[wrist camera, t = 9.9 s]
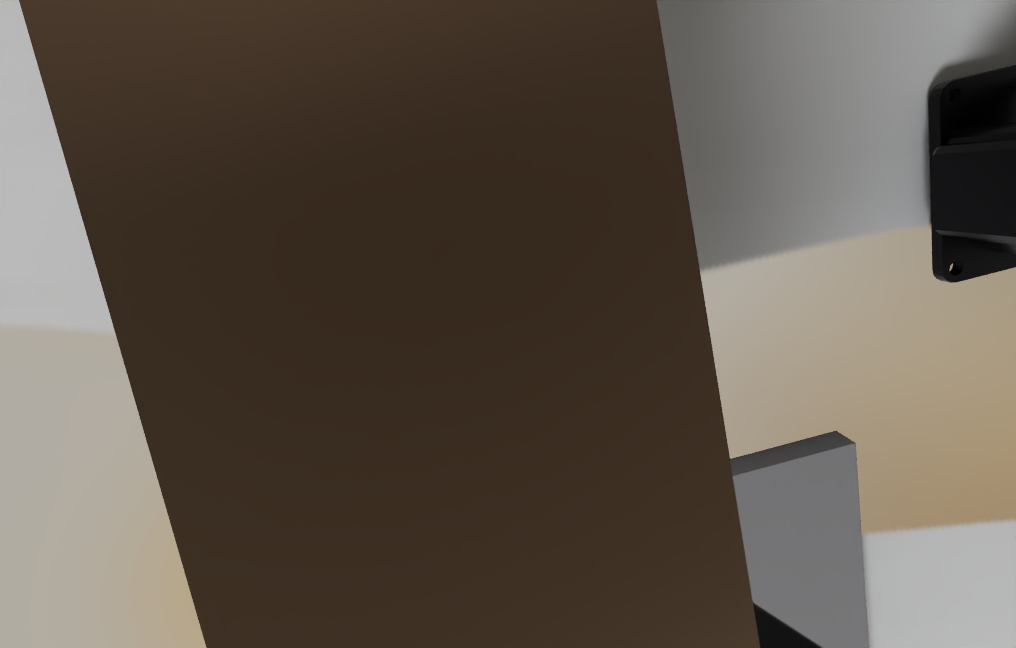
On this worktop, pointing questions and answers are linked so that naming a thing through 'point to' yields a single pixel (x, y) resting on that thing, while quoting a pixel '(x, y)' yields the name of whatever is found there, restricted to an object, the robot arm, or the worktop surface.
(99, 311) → the worktop surface
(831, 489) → the mat
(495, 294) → the brown wooden plank
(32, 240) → the worktop surface
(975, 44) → the worktop surface
